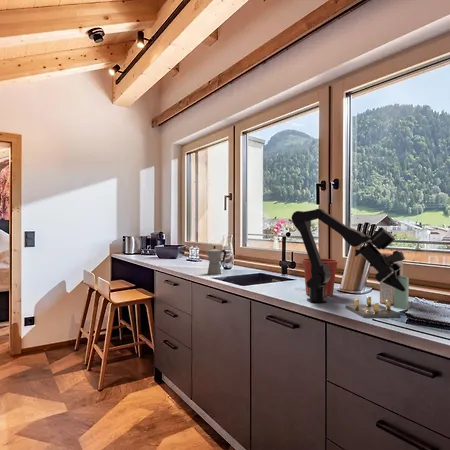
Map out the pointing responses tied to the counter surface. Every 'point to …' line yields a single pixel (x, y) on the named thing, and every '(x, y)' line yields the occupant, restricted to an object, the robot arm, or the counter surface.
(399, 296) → the block
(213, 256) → the coffeepot
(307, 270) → the flower pot
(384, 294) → the cracker box
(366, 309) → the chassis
